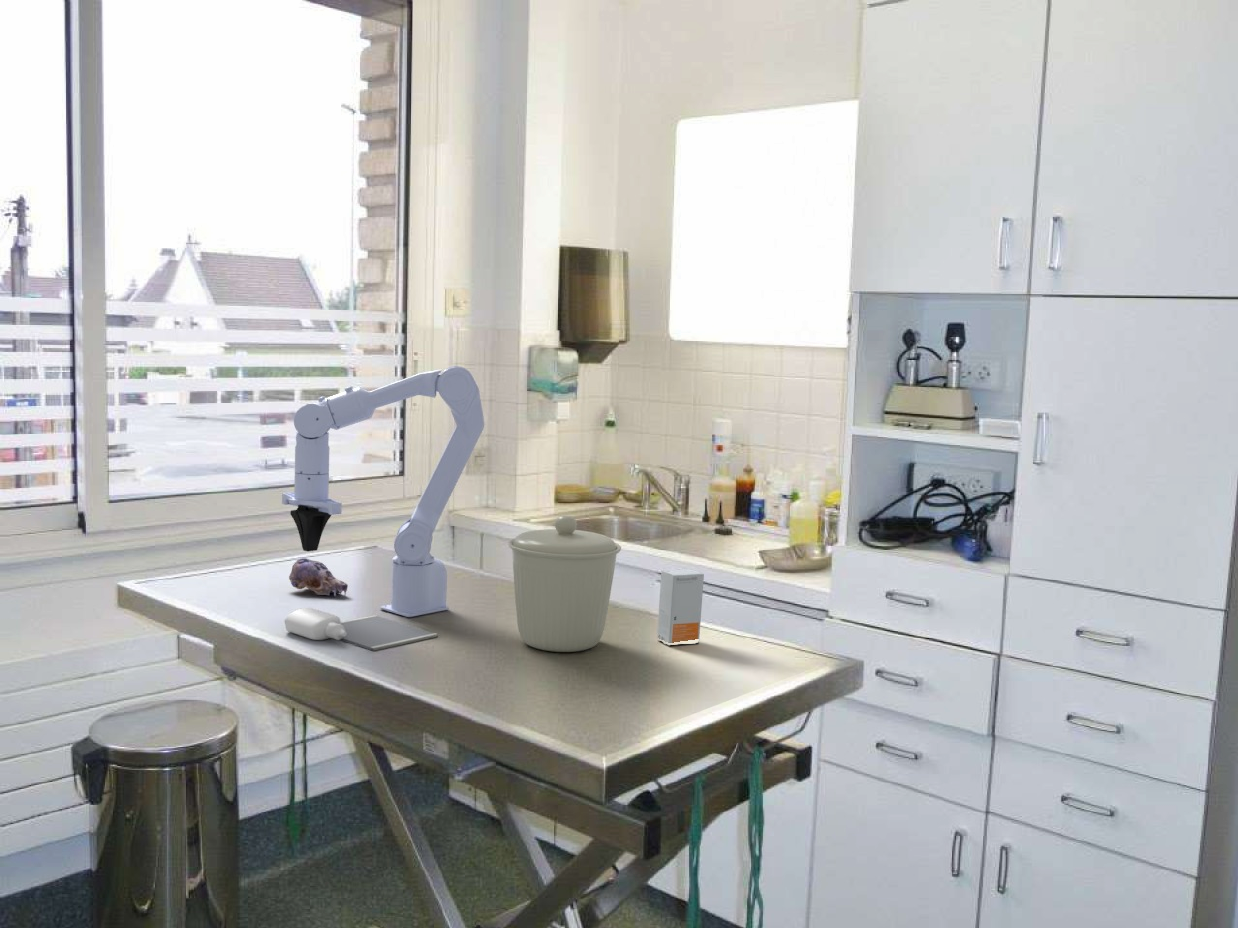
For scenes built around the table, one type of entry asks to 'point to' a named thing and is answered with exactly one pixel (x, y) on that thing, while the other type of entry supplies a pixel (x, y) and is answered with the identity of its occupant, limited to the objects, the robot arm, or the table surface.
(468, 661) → the table surface
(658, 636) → the skincare box
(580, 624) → the canister
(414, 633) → the mat
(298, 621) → the eye dropper bottle
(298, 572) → the skull
